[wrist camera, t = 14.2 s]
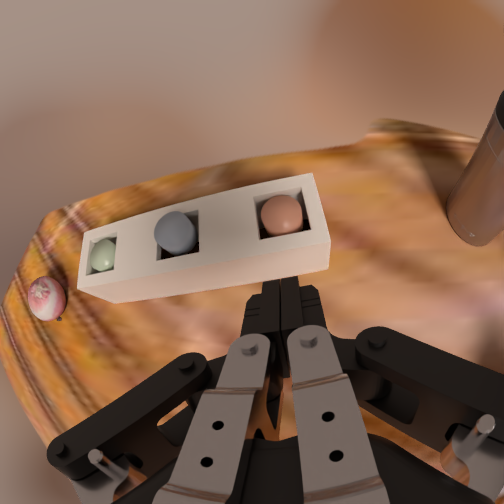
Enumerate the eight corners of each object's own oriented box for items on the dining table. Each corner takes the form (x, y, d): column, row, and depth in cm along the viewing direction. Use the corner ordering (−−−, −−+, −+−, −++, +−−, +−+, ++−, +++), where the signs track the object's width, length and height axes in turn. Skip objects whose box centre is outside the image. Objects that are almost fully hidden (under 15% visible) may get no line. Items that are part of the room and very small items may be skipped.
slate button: (197, 218, 30) (188, 207, 27) (198, 252, 28) (188, 242, 26) (166, 226, 30) (155, 216, 28) (164, 258, 29) (153, 250, 26)
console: (314, 211, 35) (312, 172, 27) (328, 269, 31) (330, 241, 24) (117, 253, 39) (84, 232, 32) (114, 303, 36) (76, 288, 29)
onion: (79, 297, 40) (53, 299, 32) (62, 329, 39) (36, 334, 32) (55, 268, 40) (29, 265, 33) (39, 299, 40) (14, 300, 33)
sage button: (125, 243, 33) (114, 235, 30) (123, 273, 31) (110, 266, 29) (103, 249, 33) (91, 242, 31) (100, 277, 32) (88, 271, 30)
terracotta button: (299, 204, 29) (297, 192, 27) (306, 237, 28) (305, 226, 25) (263, 212, 30) (258, 199, 28) (268, 245, 28) (263, 234, 26)
